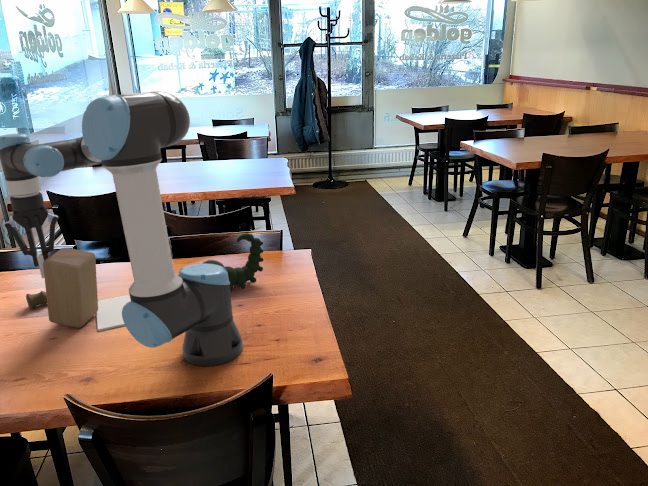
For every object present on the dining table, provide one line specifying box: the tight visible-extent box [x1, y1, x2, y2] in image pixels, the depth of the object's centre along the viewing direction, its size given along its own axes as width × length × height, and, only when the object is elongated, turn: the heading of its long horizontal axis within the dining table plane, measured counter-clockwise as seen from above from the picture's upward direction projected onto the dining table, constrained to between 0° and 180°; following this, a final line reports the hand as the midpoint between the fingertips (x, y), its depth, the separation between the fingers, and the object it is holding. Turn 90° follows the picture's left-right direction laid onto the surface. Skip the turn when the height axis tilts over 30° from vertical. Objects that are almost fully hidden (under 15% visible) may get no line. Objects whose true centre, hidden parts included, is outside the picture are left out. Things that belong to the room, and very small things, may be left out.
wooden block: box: [43, 247, 99, 329], centre depth 146 cm, size 10×10×20 cm
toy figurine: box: [201, 232, 264, 292], centre depth 165 cm, size 9×19×25 cm
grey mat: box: [96, 294, 131, 332], centre depth 156 cm, size 20×17×1 cm
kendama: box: [25, 290, 47, 310], centre depth 164 cm, size 6×10×20 cm
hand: (45, 275), depth 144 cm, fingers closed
